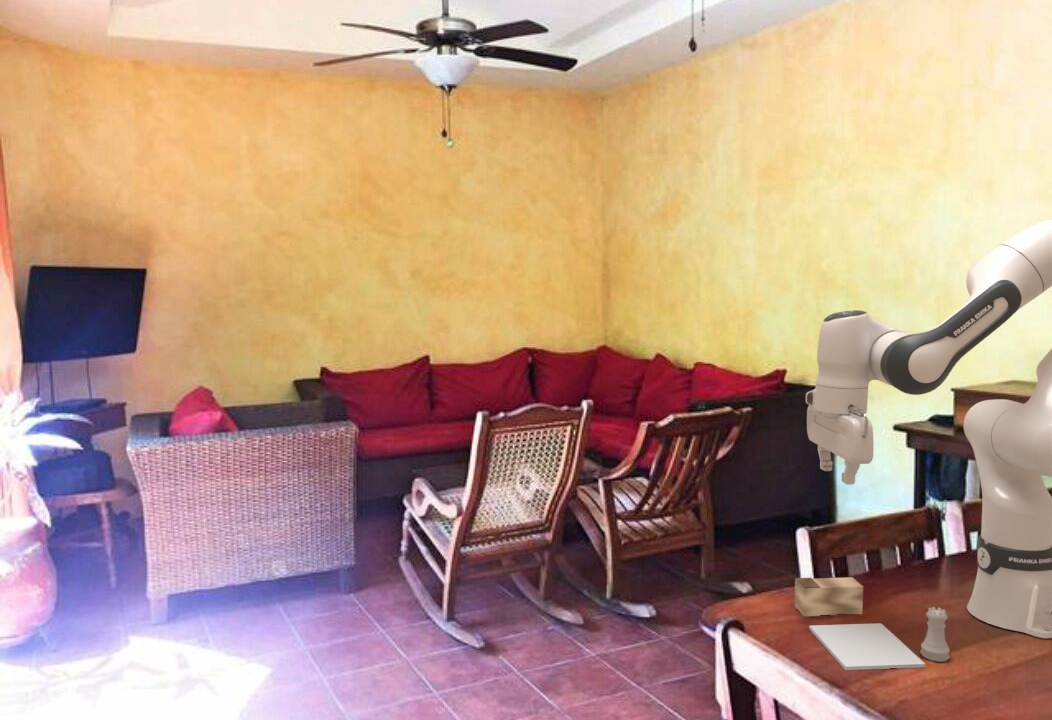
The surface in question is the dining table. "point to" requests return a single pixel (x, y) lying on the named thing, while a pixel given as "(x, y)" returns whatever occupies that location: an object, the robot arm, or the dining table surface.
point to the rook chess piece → (935, 637)
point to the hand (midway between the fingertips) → (836, 476)
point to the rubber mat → (865, 647)
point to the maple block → (828, 596)
